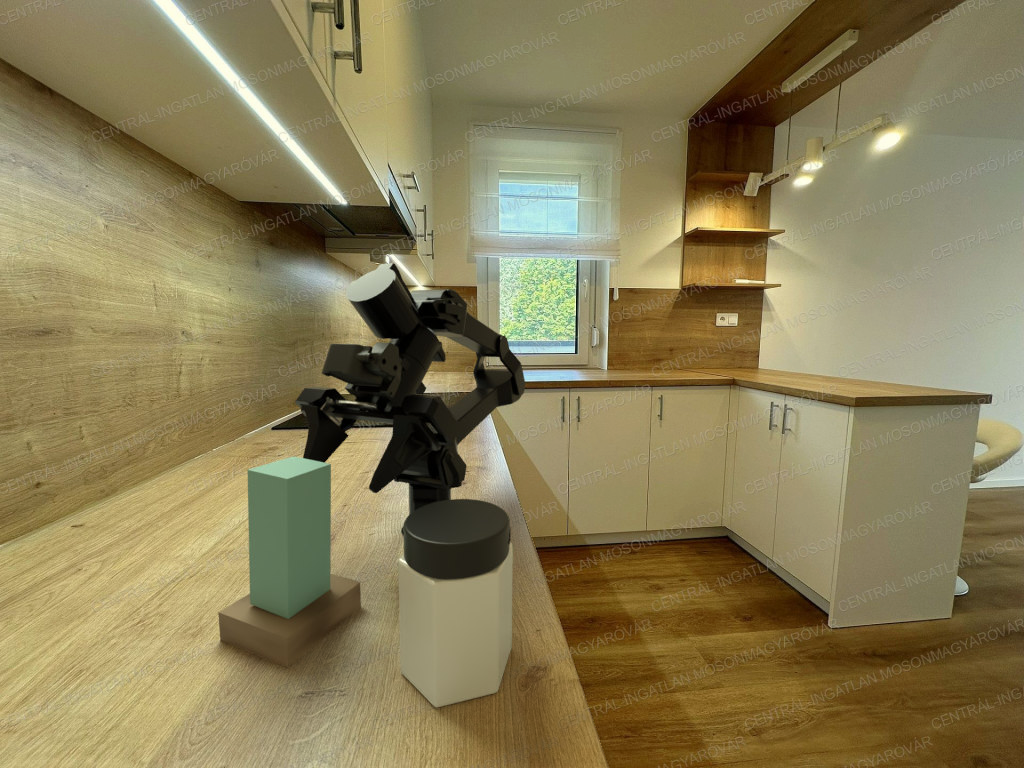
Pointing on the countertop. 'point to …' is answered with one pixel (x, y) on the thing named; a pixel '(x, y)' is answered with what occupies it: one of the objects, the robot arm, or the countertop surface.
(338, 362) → the robot arm
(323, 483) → the teal block
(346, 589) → the walnut block
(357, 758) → the countertop surface
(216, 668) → the countertop surface
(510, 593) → the jar
